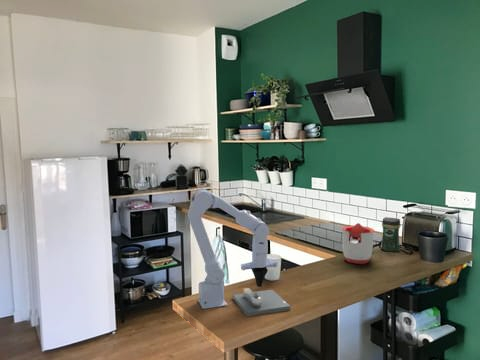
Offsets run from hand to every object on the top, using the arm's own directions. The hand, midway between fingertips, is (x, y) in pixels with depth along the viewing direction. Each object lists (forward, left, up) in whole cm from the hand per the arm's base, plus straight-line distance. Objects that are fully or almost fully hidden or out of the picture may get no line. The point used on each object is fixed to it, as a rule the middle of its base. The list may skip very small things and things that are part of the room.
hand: (259, 285), depth 153 cm
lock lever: (-5, -4, -4) cm, 7 cm away
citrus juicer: (+66, +29, -6) cm, 72 cm away
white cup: (+15, +20, -6) cm, 26 cm away
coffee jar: (+97, +40, -6) cm, 105 cm away
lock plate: (-1, -4, -6) cm, 7 cm away
